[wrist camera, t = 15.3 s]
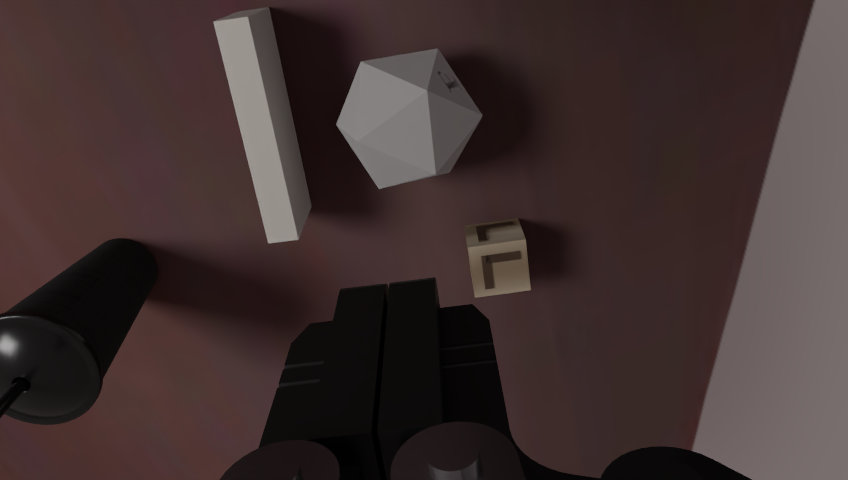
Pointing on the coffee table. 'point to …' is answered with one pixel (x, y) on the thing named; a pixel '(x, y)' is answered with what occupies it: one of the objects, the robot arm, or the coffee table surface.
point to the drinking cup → (71, 333)
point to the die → (407, 117)
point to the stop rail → (265, 121)
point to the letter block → (497, 257)
